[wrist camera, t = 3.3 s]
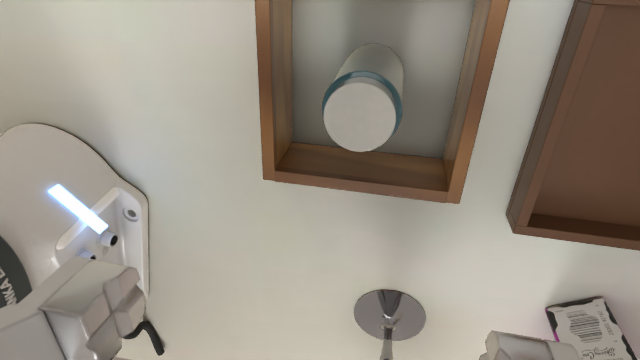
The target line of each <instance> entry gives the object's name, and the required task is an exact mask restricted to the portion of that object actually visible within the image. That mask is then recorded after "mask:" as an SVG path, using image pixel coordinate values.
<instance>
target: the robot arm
mask: <svg viewBox="0 0 640 360" xmlns="http://www.w3.org/2000/svg"><path fill="white" fill-rule="evenodd" d="M148 294H149V256H148V201H147V199H146V197H145V196H144V195H143V194H142V193H141V192H140V191H139V190H137V189H136V188H135V187H133V186H132V185H130V184H129V183H127V182H126V181H124V180H122V179H121V178H120V177H119V176H118V175H117V174H116V173H115V172H114V171H113V170H112V169H111V168H110V166H109V165H108V164H107V163H106V162H105V161H104V160H103V159H102V158H101V157H100V156H99V155H98V154H97V153H96V152H95V151H94V150H93V149H92V148H90V147H89V146H88V145H86V144H85V143H84V142H82V141H81V140H79V139H78V138H76V137H74V136H73V135H71V134H69V133H67V132H65V131H62V130H60V129H57V128H55V127H51V126H48V125H43V124H34V123H28V124H21V125H17V126H15V127H12V128H11V129H9V130H8V131H6V132H5V133H4V134H3V135H2V136H1V137H0V360H112V359H113V358H114V357H115V355H116V354H117V353H118V351H119V350H120V349H121V347H122V338H124V339H133V338H135V337H137V336H138V335H139V333H140V332H141V331H142V329H144V330H146V331H147V333H148V334H149V336H150V338H151V341H152V343H153V346H154V348H155V350H156V352H157V354H158V355H159V356H160V355H162V354H163V353H164V349H163V347H162V345H161V342H160V340H159V337H158V335H157V333H156V331H155V329H154V328H153V326H152V325H151V324H150V323H148V322H145V321H142V322H140V321H141V319H142V316H143V314H144V311H145V304H146V298H147V297H148ZM485 343H486V349H487V353H485V354H483V355H481V356H480V358H479V360H581V359H580V357H579V355H578V352H577V350H576V349H575V348H574V346H573V345H572V344H567V343H561V342H556V341H550V340H542V339H540V338H534V337H528V336H522V335H516V334H510V333H504V332H498V331H491V332H490V333H489V334H488V337H487V339H486V342H485Z"/></svg>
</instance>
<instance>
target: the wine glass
mask: <svg viewBox="0 0 640 360" xmlns="http://www.w3.org/2000/svg"><path fill="white" fill-rule="evenodd" d="M354 316H355V319H356V322H357V323H358V325H359V326H360V327H361V328H362V329H363V330H364V331H365V332H367V333H368V334H370V335H372V336H374V337H376V338H379V339H382V340H384V341H383V348H382V352H381V357H380V360H393V353H392V341H401V340H406V339H409V338H411V337H413V336H415V335H417V334H418V333H419V332H420V331H421V330H422V328H423V327H424V325H425V320H426V319H425V312H424V310H423V308H422V306H421V305H420V304H419V303H418V302H417V301H416V300H415V299H413V298H412V297H410V296H409V295H406V294H404V293H401V292H398V291H393V290H377V291H373V292H370V293H367V294H365V295H364V296H362V297H361V298H360V299H359V300H358V301H357V303H356V305H355V308H354Z"/></svg>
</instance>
